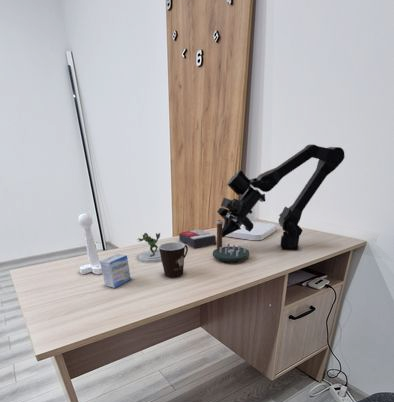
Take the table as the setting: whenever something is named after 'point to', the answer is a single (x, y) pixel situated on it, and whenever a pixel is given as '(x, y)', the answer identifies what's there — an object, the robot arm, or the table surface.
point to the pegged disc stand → (228, 248)
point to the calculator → (197, 238)
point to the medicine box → (115, 270)
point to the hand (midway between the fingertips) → (220, 236)
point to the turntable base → (231, 261)
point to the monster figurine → (151, 254)
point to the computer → (254, 231)
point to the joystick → (89, 247)
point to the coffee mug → (173, 258)
